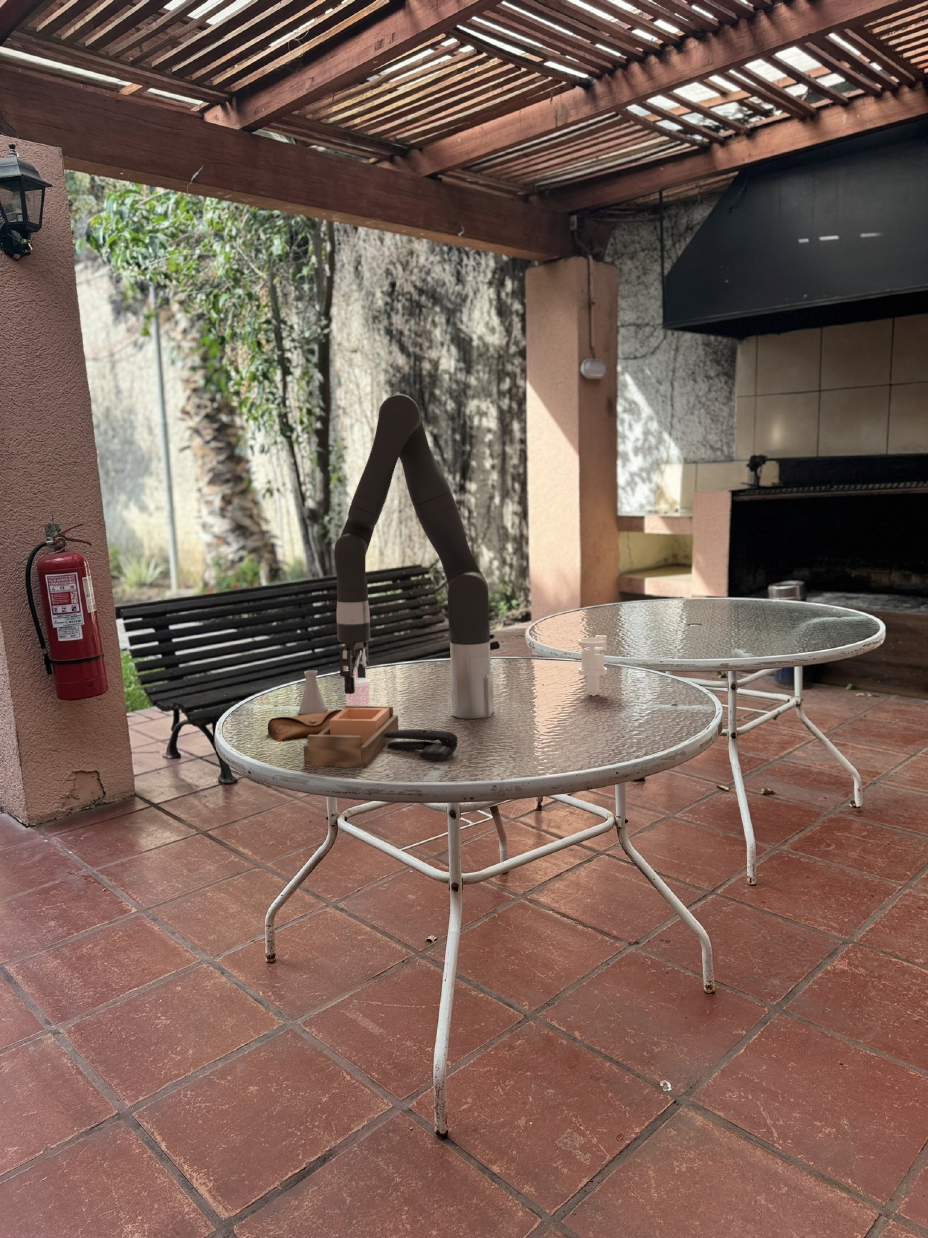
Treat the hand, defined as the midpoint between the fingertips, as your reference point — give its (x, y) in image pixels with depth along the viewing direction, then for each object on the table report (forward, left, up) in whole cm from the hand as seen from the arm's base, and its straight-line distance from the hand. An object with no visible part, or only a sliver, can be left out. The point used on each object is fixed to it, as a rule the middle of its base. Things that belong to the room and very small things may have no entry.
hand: (355, 689), depth 207 cm
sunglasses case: (+6, +12, -8) cm, 16 cm away
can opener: (-21, +26, -7) cm, 34 cm away
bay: (-7, +24, -7) cm, 26 cm away
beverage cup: (0, 0, -7) cm, 7 cm away
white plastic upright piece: (-53, -26, -7) cm, 60 cm away
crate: (-7, +19, -6) cm, 21 cm away
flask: (+13, -5, -7) cm, 15 cm away
